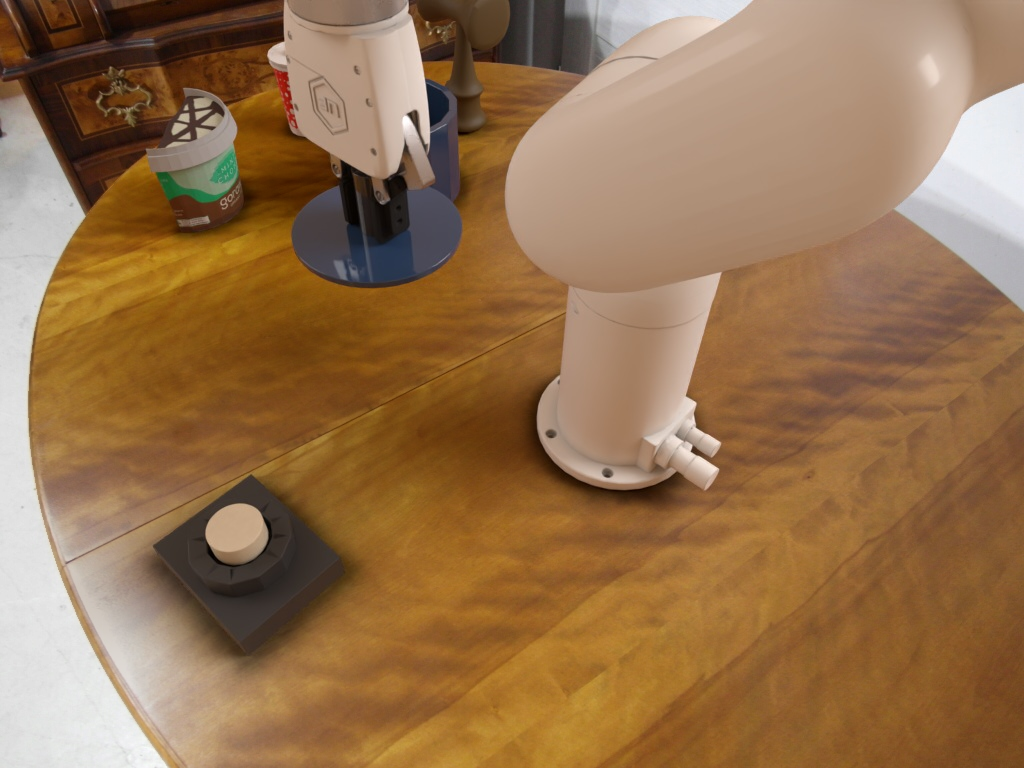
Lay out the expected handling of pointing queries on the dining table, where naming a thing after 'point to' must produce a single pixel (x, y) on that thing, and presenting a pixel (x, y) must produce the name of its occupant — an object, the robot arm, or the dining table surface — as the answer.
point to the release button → (237, 534)
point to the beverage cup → (283, 83)
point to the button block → (252, 568)
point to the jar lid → (353, 247)
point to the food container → (199, 163)
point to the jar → (443, 139)
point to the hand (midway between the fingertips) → (377, 223)
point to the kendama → (469, 48)
